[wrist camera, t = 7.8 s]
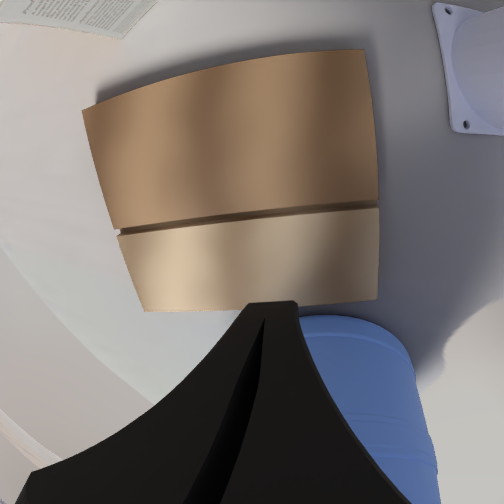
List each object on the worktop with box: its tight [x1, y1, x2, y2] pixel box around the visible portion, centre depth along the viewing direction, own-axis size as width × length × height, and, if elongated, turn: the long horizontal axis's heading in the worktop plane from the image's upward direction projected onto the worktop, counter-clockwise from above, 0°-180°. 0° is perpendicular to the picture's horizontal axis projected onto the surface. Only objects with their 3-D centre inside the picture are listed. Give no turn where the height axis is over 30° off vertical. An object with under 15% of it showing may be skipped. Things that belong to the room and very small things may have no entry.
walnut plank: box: [82, 49, 379, 229], centre depth 16 cm, size 16×8×1 cm, turn 99°
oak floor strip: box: [117, 200, 379, 312], centre depth 19 cm, size 16×6×1 cm, turn 99°
